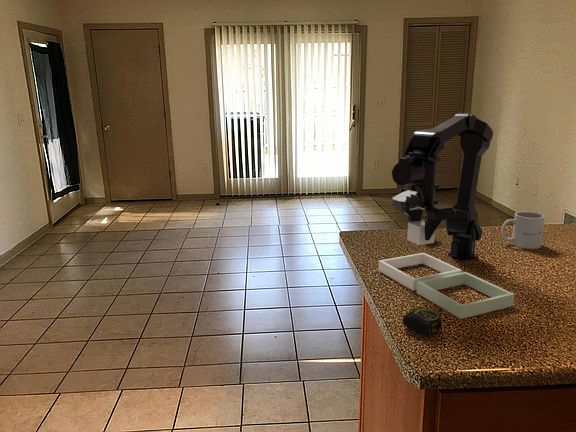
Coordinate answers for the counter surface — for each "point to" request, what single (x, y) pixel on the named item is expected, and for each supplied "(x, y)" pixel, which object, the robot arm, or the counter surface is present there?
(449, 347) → the counter surface
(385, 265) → the bin
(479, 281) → the bin
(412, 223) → the stone cube
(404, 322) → the tape measure
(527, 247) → the mug
